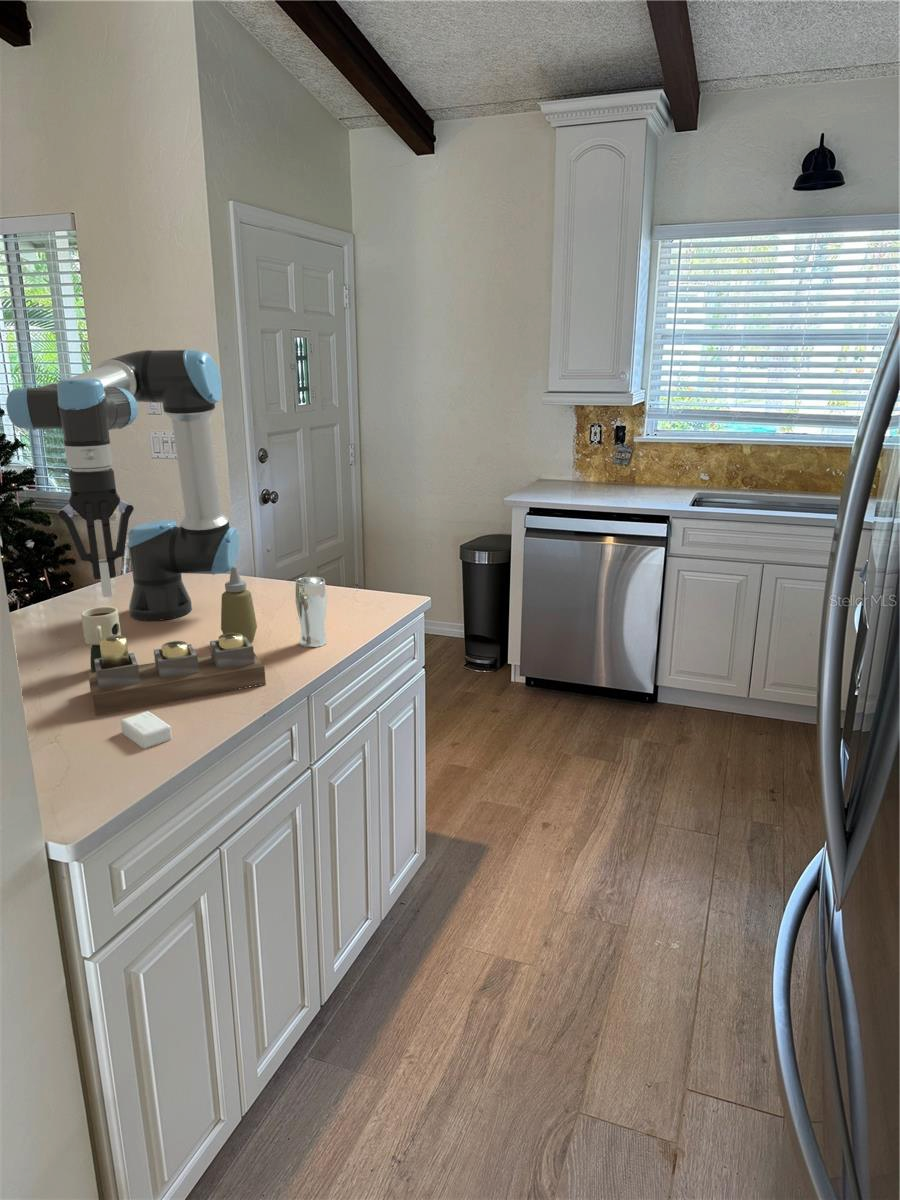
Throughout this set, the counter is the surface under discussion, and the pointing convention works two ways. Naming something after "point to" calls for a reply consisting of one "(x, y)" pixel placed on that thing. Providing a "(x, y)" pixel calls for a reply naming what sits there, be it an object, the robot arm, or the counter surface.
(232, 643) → the knob
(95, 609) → the character mug
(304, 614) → the beer glass
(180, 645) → the knob middle
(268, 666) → the counter surface
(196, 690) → the mount
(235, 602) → the squeeze bottle
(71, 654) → the counter surface
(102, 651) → the knob
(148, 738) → the soap
